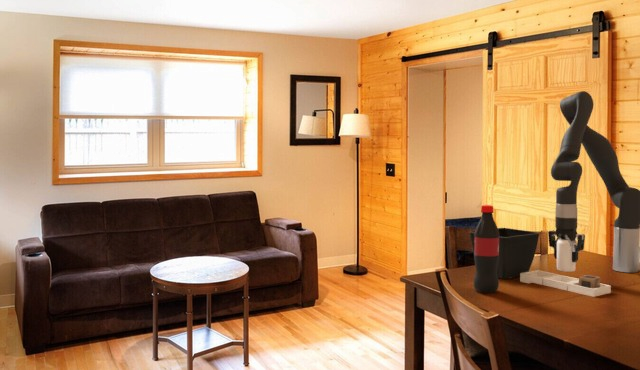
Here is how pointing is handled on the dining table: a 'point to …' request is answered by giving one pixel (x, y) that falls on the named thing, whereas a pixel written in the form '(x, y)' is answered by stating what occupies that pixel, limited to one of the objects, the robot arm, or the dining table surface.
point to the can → (564, 256)
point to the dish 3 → (589, 289)
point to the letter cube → (589, 281)
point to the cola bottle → (486, 252)
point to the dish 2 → (559, 281)
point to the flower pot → (514, 251)
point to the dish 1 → (535, 276)
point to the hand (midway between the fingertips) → (566, 260)
